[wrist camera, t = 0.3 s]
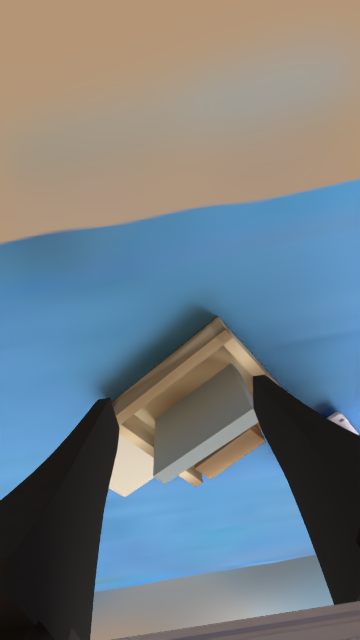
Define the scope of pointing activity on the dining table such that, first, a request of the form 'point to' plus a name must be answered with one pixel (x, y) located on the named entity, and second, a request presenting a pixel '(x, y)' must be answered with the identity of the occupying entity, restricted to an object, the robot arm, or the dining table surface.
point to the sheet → (202, 423)
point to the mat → (130, 468)
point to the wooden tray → (182, 384)
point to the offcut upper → (230, 452)
